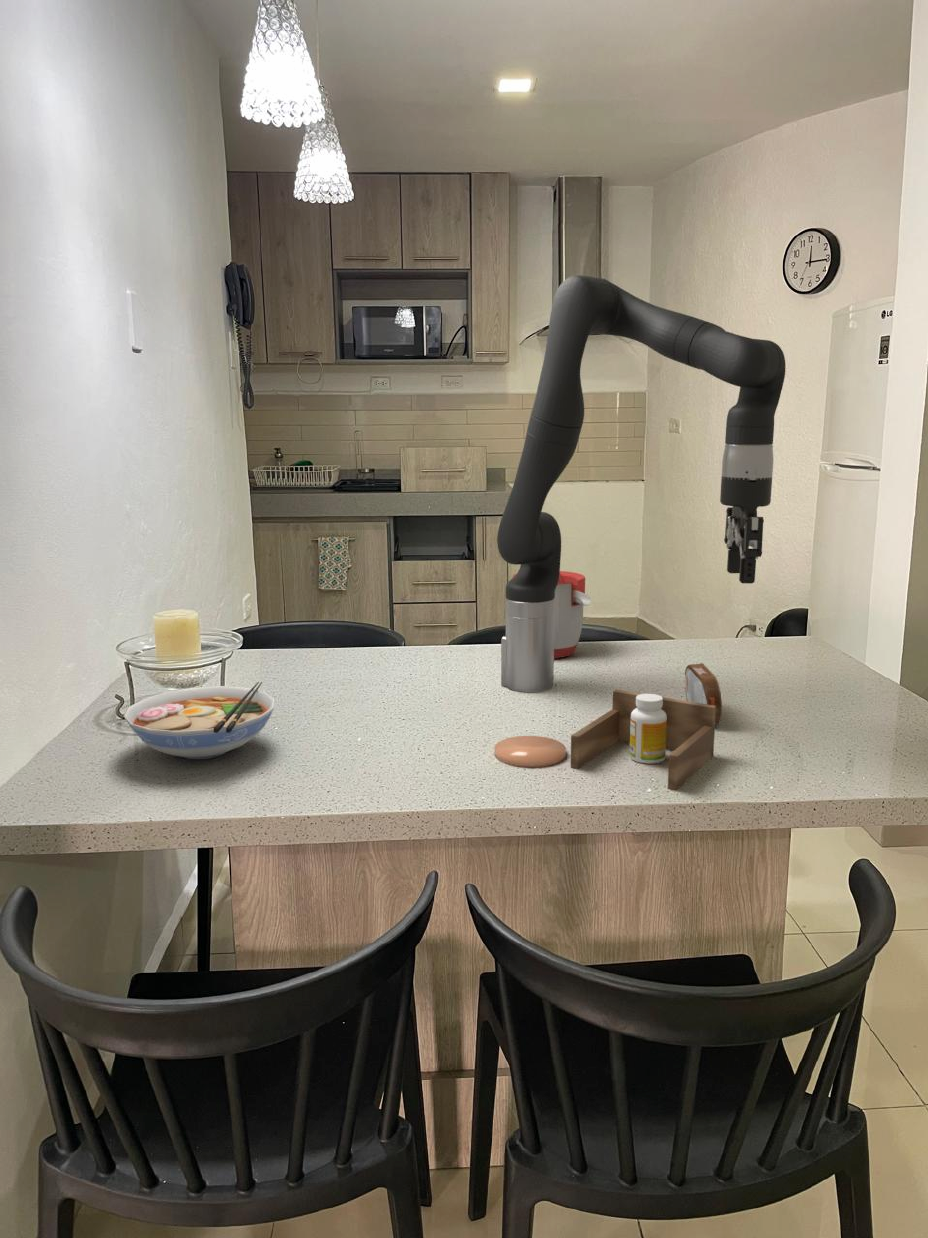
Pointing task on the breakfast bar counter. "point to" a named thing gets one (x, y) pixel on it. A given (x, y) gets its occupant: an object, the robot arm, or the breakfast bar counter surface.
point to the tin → (703, 687)
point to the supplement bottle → (648, 730)
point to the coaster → (530, 751)
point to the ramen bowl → (200, 719)
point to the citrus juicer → (568, 612)
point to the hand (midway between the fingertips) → (740, 577)
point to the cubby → (684, 734)
